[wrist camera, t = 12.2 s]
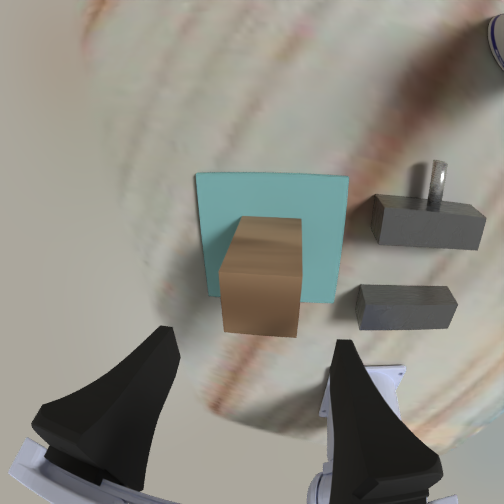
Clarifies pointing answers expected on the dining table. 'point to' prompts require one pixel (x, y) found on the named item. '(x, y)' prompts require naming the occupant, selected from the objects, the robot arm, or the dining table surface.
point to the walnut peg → (263, 277)
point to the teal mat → (283, 206)
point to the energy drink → (497, 38)
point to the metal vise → (417, 235)
